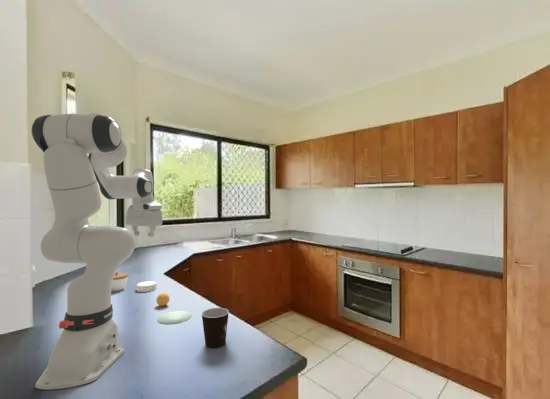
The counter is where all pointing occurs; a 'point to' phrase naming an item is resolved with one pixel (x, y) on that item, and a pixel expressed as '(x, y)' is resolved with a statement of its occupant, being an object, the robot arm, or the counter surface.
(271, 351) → the counter surface
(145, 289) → the white round disc
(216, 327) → the coffee mug
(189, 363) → the counter surface
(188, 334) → the counter surface
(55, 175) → the robot arm
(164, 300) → the ball
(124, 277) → the lidded jar
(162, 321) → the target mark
